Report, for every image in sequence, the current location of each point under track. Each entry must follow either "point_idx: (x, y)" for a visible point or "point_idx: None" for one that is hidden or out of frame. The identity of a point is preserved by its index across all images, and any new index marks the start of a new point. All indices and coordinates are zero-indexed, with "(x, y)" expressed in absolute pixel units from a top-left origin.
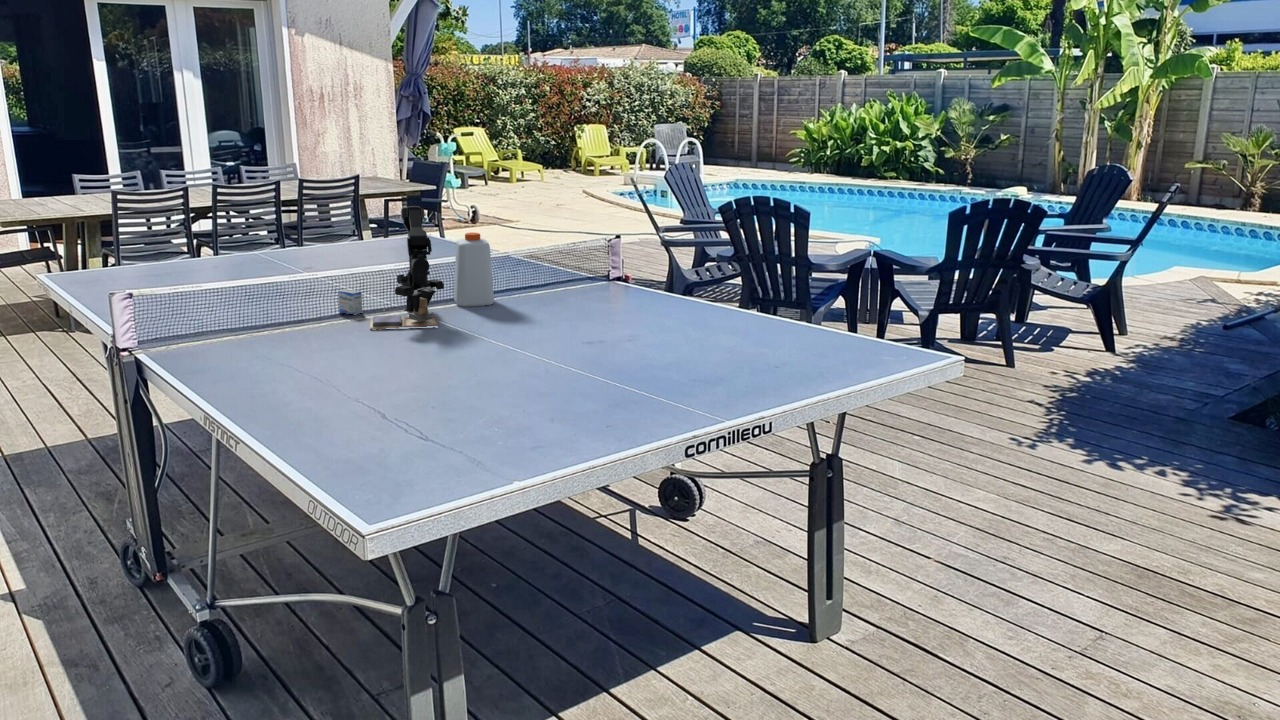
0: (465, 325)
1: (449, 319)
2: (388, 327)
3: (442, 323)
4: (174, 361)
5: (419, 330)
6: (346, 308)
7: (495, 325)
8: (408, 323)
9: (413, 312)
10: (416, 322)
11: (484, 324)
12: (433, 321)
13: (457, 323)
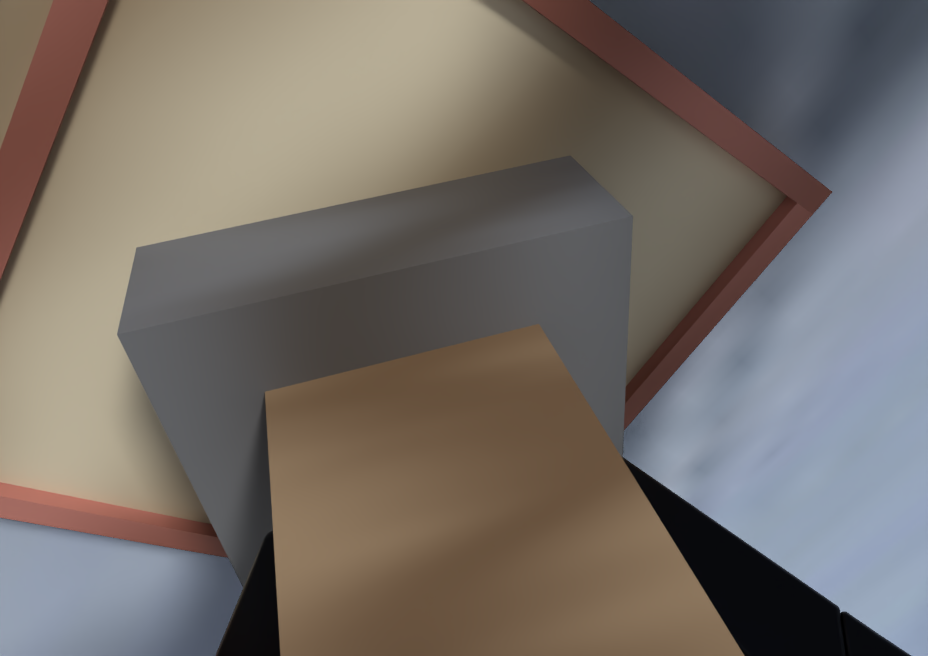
0: (762, 552)
1: (915, 239)
2: None
3: (674, 385)
4: None
5: (162, 569)
6: None
7: (901, 622)
8: (72, 315)
9: (312, 297)
10: None
11: (889, 575)
12: None
13: (786, 459)
